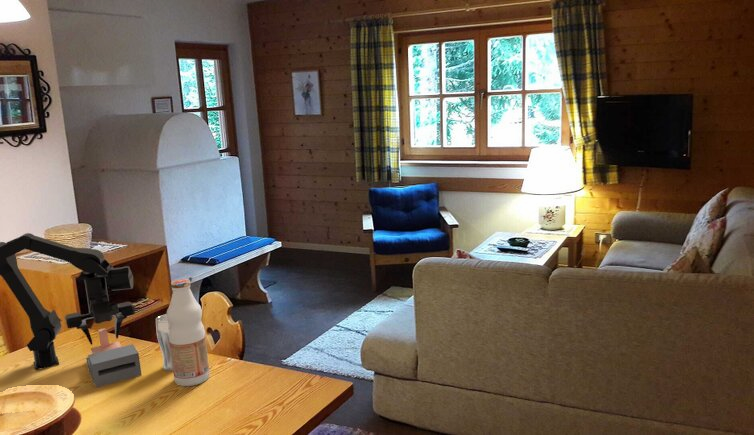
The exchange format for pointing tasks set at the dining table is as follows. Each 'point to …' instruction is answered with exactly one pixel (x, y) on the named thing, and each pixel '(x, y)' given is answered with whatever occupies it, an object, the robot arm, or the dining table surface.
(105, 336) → the pink t-shaped block
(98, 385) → the grey slotted box
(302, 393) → the dining table surface
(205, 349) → the fruit juice
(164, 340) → the beer glass
